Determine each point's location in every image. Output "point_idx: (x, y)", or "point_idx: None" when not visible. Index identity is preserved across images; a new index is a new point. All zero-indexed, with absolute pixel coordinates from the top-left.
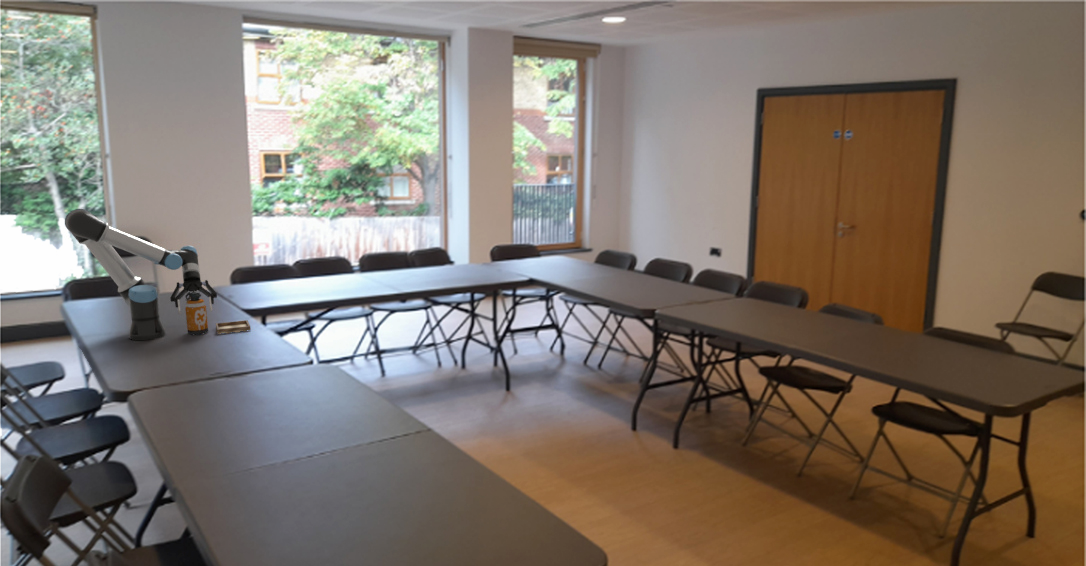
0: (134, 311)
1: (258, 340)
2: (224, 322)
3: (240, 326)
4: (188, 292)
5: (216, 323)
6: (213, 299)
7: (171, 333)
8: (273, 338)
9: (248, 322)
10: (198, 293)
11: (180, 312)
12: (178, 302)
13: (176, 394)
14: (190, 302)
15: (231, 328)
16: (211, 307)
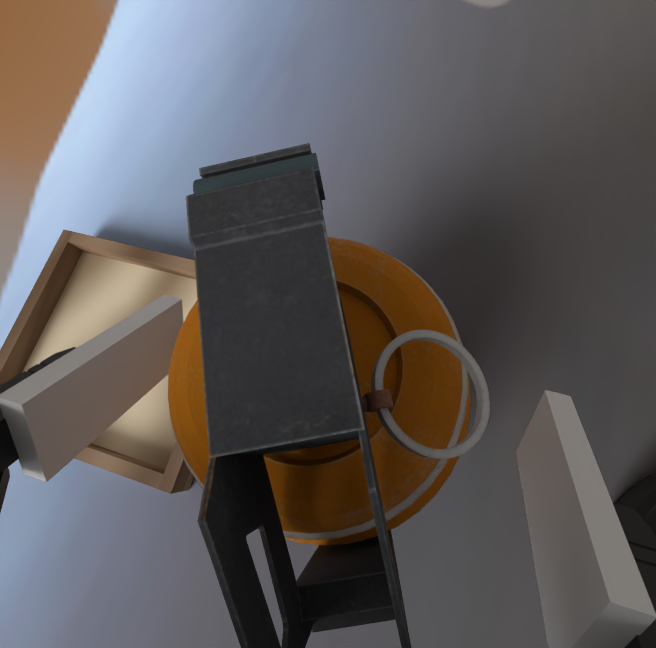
0: None
1: (172, 46)
2: (109, 469)
3: None
4: (385, 536)
5: (167, 482)
6: (18, 375)
7: (532, 575)
8: (107, 42)
9: (7, 337)
10: (222, 188)
11: (531, 424)
12: (608, 528)
13: None
14: (420, 280)
15: (169, 255)
16: (165, 300)
